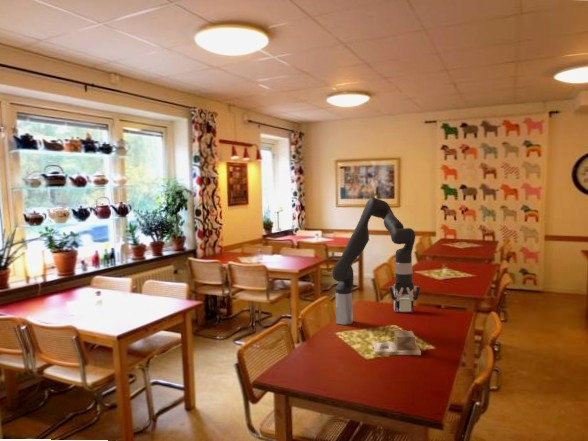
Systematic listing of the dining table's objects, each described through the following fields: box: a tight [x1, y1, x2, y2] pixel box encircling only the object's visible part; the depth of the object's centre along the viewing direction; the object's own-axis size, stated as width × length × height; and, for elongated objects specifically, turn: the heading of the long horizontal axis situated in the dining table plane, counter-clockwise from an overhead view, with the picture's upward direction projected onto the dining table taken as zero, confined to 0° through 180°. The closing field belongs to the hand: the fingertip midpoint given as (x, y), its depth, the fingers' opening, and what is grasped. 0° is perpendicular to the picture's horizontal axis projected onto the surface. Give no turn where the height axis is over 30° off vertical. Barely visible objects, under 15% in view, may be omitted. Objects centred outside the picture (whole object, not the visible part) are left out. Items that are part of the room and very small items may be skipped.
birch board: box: [372, 341, 422, 356], centre depth 191 cm, size 20×12×2 cm, turn 84°
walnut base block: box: [394, 330, 416, 350], centre depth 191 cm, size 8×8×6 cm
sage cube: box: [399, 298, 411, 313], centre depth 189 cm, size 5×5×5 cm
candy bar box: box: [393, 283, 415, 313], centre depth 249 cm, size 11×5×16 cm, turn 84°
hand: (404, 308), depth 190 cm, fingers closed on sage cube, 5 cm apart
